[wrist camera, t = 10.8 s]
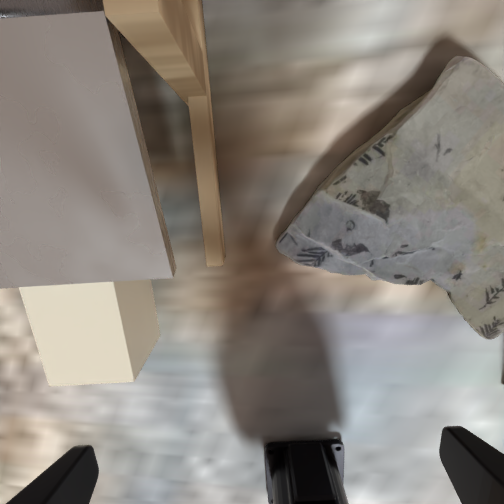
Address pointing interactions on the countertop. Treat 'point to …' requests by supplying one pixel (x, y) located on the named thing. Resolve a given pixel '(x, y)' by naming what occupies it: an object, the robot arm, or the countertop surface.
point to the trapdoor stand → (181, 88)
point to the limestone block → (92, 330)
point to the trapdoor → (73, 153)
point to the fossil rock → (421, 199)
